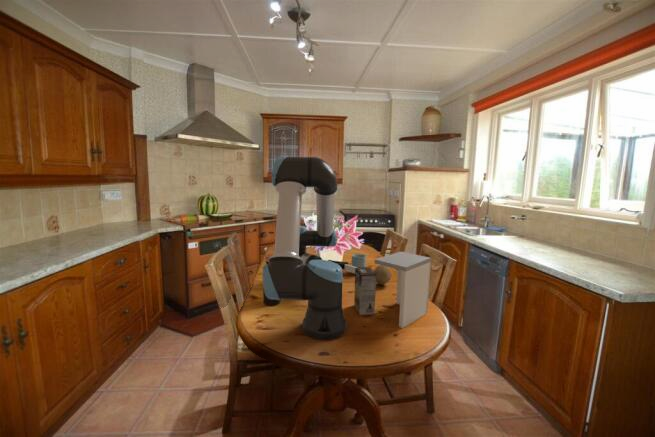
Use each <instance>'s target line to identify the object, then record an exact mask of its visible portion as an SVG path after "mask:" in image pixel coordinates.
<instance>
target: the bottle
mask: <svg viewBox="0 0 655 437" xmlns="http://www.w3.org/2000/svg"><path fill="white" fill-rule="evenodd" d="M272 255H274V253H270V254H269V253H267V254H265V259H264V260H265V261H264V262H265V264H269V258H270V257H271V256H272ZM262 291H263V293H262V294H263V299H262V301H263V302H262V303H263V304H264V305H265V306H268V307H269V306H271V307H272V306H273V307H274V306H277V305H278V304H280V302H281V300H275V299H269V298H267V297H266V295H265V292H264V288H263V287H262Z"/></svg>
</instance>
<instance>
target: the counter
mask: <svg viewBox="0 0 655 437" xmlns="http://www.w3.org/2000/svg"><path fill="white" fill-rule="evenodd" d="M431 263H432V258H431V257H429V256H424V255H419V254H414V253H410V252H406V251H399V252H393V253H392V254H389V255H384V256H381V257H379V258H375V259H374V264H375V265H378V266H379V265H383V266H387V267H388V268H389V269H390V268H391V269H395V270H397V280H396V281H397V283H396V284H397V286H396V304H397V305H399V317H398V319H399V320H398V328H401V329H404V328H405V327H407V326H408V325H410V324H412V323H413V322H416V321H417V320H418V319H419V318H422V317H423V316H424V315H426V314H427V313H428V310H429V309H428V308H429V306H428V305H429V292H430V279H431V278H430V277H431V276H430V275H431V265H432V264H431Z"/></svg>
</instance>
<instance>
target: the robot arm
mask: <svg viewBox="0 0 655 437" xmlns="http://www.w3.org/2000/svg"><path fill="white" fill-rule="evenodd" d="M337 178H338V177H337V175H336V172H335V171H334V169H333V168H332V166H331V165H330V164H329V163H328V162H327V161H326V160H324V159H322V158H320V157H318V156H289V155H286V156H279V157H276V158H275V160H274V163H273V165H272V171H271V184H272V186H273V187H275V190H276V192H277V193H278V202H277V214H276V215H277V216H276V225H275V226H276V227H275V235H274V236H275V238H274V249H273V250H274V251H273V254H274V255H272V256H271V257H270V258H269V264H266V263H265V264H263V266H262V274H261V275H262V289H263V288H264V292H265V295H266V297H267V298H269V299H275V300H280V301H307V308H306V312H305V315H304V318H303V319H302V331H303V333H304V334H305V335H306V336H308V337H309V338H312V339H315V340H326V341H328V340H334V339H338V338H340V337H343V335H344V334H345V333H347V325H348V324H347V320H346V317H345V314H344V310H343V282H344V277H343V270H344V271H346V272H349V273H352V274H354V273H355V268H357V267H354V266H351V264H349V262H348V261H339V260H332V259H328V260H326V259H323V258H322V257H321V256H319V255H315V254H313V253H309V252H307V247H328V248H329V247H336V245H337V237H338V235H337V234H338V233H337V231H336V230H334V218H335V217H334V214H335V195H336V192H337V190H338V179H337ZM307 188H313V191H314V192H315V194H316V195H315V196H316V199H315V200H316V204H315V205H316V230H307V227H306V226H305V225H301V222H302V221H301V219H302V217H301V216H302V201H303V199H302V197H303V195H304V194H305V193H306V192H307Z"/></svg>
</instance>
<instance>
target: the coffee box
mask: <svg viewBox="0 0 655 437" xmlns="http://www.w3.org/2000/svg"><path fill="white" fill-rule="evenodd" d="M376 276H377V274H376V273H375V272H374V270H373V268H372V267H370V266H367V267H361V268H355V274H354V298H353V299H354V300H353V301H354V302H353V303H354V307H355V309H356V311H357V312H358V315H360V316H362V315H363V316H365V315H375V312H376V292H377V291H376V290H377V282H376Z"/></svg>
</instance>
